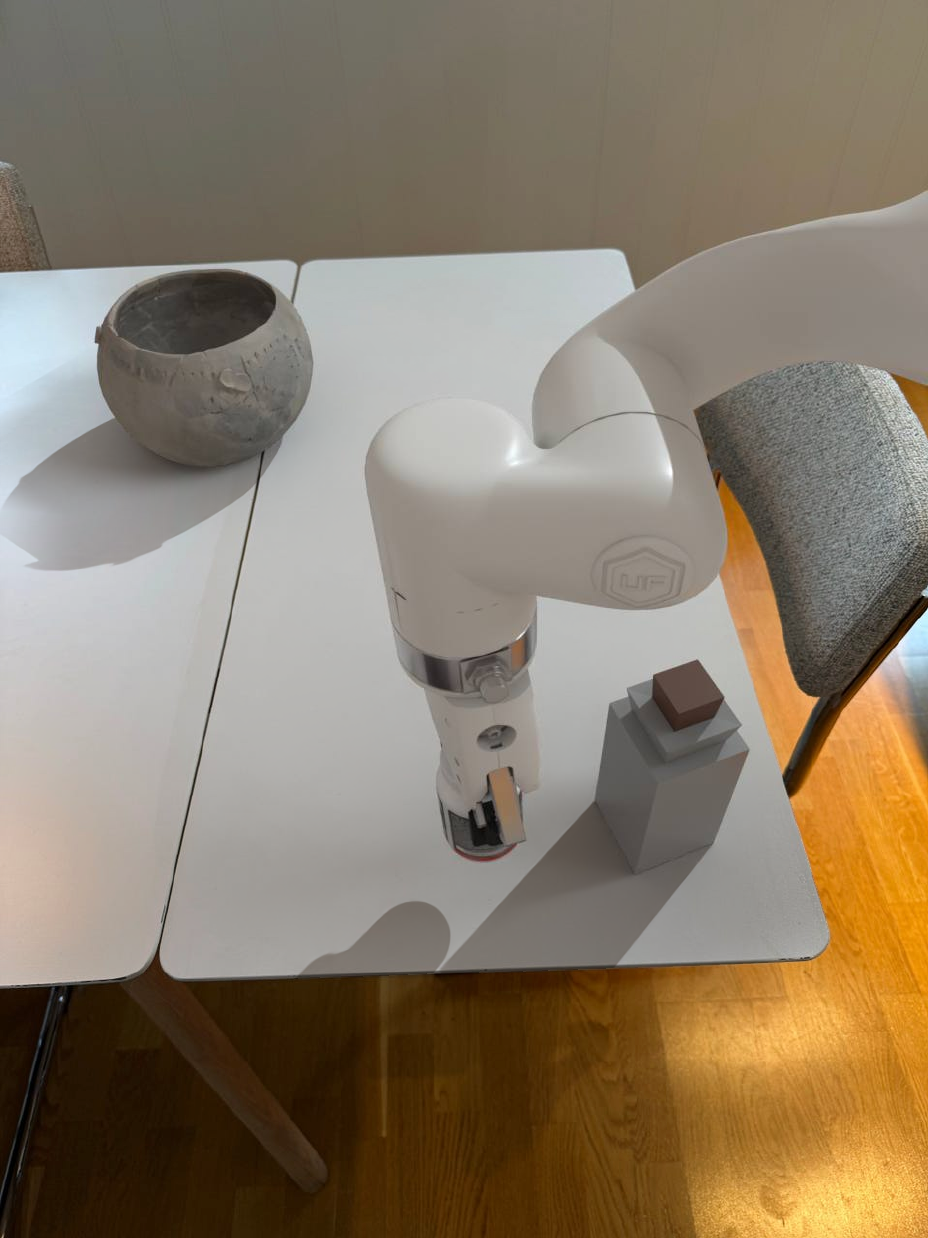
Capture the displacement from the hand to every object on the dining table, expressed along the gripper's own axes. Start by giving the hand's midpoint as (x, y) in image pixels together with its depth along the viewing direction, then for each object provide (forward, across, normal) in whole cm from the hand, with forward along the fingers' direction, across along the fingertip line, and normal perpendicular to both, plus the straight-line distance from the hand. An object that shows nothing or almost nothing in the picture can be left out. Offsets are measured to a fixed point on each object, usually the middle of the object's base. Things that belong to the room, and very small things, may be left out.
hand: (480, 793), depth 60 cm
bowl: (+10, +61, +12) cm, 63 cm away
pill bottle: (+5, 0, 0) cm, 5 cm away
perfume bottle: (+11, -1, -13) cm, 17 cm away
